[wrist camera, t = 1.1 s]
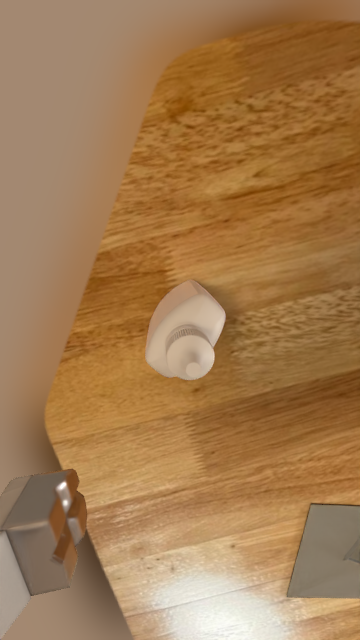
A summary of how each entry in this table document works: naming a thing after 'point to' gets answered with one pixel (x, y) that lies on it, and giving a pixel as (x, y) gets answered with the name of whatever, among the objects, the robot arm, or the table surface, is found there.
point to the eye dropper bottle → (184, 332)
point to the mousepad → (328, 554)
